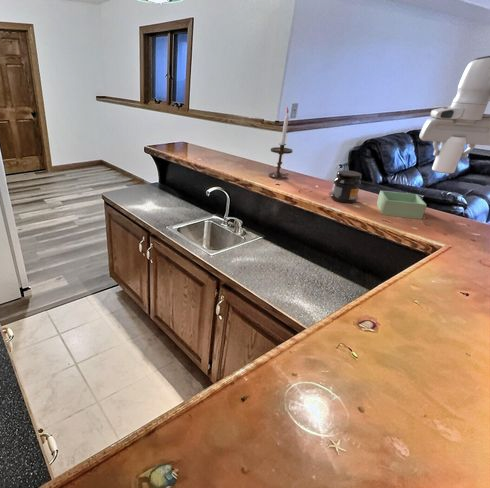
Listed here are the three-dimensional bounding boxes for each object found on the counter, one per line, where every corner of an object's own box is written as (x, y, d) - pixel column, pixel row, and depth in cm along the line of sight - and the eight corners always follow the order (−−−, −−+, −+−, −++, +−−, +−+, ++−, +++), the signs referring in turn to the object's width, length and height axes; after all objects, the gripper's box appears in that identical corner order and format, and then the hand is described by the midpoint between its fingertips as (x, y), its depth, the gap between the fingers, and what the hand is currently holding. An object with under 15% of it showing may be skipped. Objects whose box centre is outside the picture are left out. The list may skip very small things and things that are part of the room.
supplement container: (361, 201, 152) (368, 174, 147) (344, 205, 148) (351, 177, 143) (341, 194, 161) (347, 169, 155) (324, 197, 157) (330, 171, 151)
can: (436, 172, 117) (450, 136, 112) (427, 168, 123) (440, 133, 118) (457, 174, 116) (473, 137, 111) (448, 169, 122) (462, 134, 116)
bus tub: (412, 207, 146) (417, 194, 144) (421, 219, 135) (426, 204, 132) (376, 203, 150) (380, 190, 148) (381, 214, 139) (386, 200, 136)
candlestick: (263, 174, 191) (272, 106, 175) (280, 173, 193) (291, 105, 178) (273, 180, 181) (284, 108, 166) (291, 178, 184) (304, 107, 168)
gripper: (500, 114, 111) (481, 157, 117) (426, 110, 117) (412, 151, 123) (510, 116, 105) (490, 161, 112) (432, 112, 111) (416, 155, 118)
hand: (448, 156), depth 117 cm, fingers closed on can, 6 cm apart
